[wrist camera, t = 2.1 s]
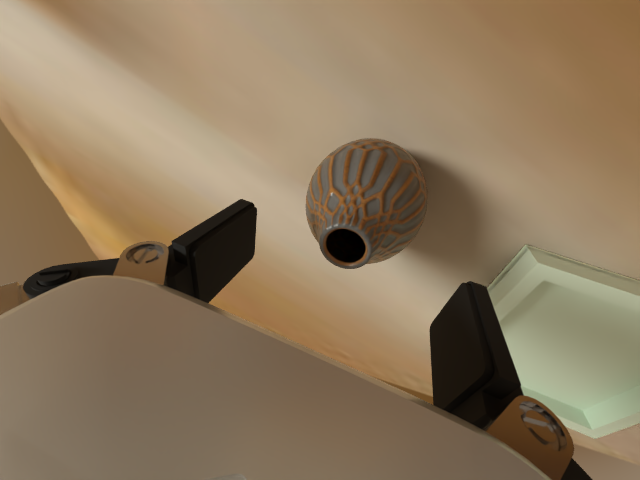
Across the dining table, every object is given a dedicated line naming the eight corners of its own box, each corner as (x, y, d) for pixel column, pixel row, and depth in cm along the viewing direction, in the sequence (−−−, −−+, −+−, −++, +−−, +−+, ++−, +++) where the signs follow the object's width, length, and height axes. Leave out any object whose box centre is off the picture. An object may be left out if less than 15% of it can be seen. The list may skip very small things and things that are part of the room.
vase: (449, 168, 16) (475, 239, 9) (384, 239, 20) (365, 325, 13) (360, 107, 15) (312, 130, 8) (313, 192, 20) (255, 253, 13)
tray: (525, 244, 16) (537, 262, 15) (777, 324, 14) (826, 357, 13) (431, 351, 25) (432, 370, 23) (582, 412, 23) (595, 438, 21)
